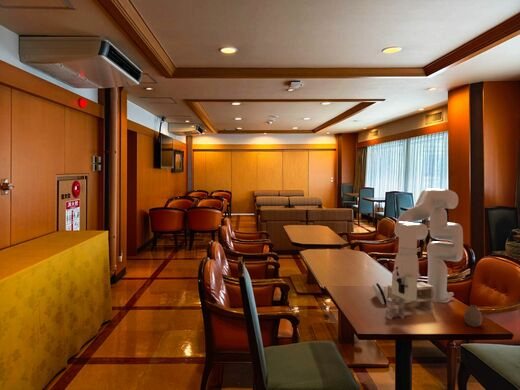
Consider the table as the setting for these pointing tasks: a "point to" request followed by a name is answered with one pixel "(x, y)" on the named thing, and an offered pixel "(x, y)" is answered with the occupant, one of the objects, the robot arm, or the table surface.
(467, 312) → the vase
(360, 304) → the table surface
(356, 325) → the table surface
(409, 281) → the pale white box
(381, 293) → the white electronic device
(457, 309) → the table surface
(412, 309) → the cabinet
